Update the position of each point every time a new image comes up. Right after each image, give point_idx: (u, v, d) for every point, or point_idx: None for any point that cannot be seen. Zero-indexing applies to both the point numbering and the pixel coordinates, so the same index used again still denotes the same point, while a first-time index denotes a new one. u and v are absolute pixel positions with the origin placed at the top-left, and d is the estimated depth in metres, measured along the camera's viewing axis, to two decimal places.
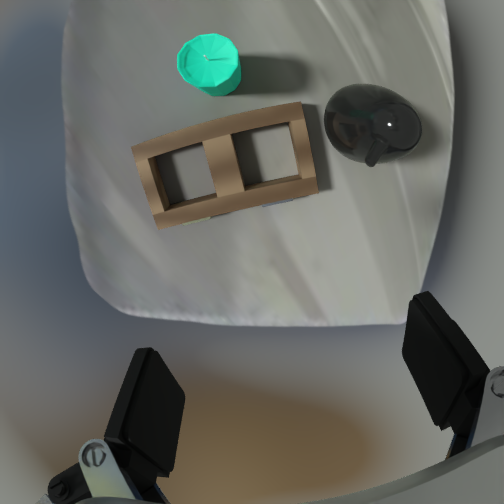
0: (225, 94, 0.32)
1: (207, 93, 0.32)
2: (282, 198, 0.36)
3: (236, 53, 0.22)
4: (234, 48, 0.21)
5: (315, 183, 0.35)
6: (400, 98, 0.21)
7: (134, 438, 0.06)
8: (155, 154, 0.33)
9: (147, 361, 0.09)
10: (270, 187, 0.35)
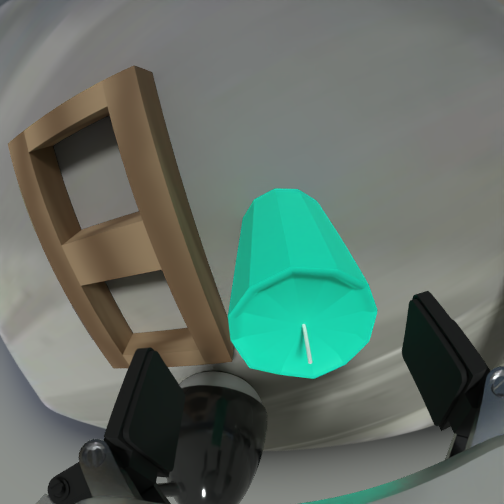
0: None
1: (247, 213, 0.19)
2: (89, 331, 0.21)
3: (307, 376, 0.12)
4: (320, 373, 0.12)
5: (122, 366, 0.23)
6: None
7: (134, 438, 0.06)
8: (114, 123, 0.14)
9: (147, 361, 0.09)
10: (97, 319, 0.20)
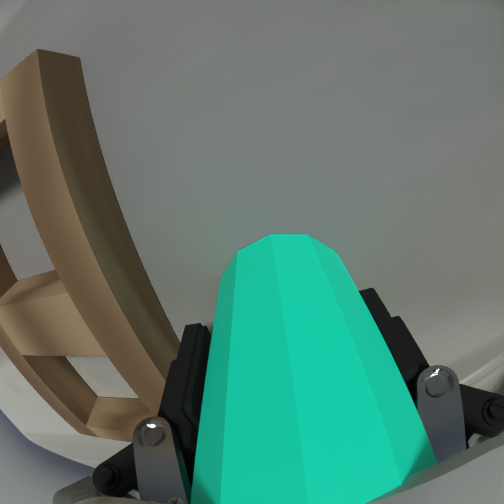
0: None
1: (226, 275, 0.12)
2: (45, 399, 0.14)
3: None
4: None
5: (89, 434, 0.16)
6: None
7: (194, 411, 0.07)
8: (13, 144, 0.07)
9: (199, 336, 0.09)
10: (49, 390, 0.13)
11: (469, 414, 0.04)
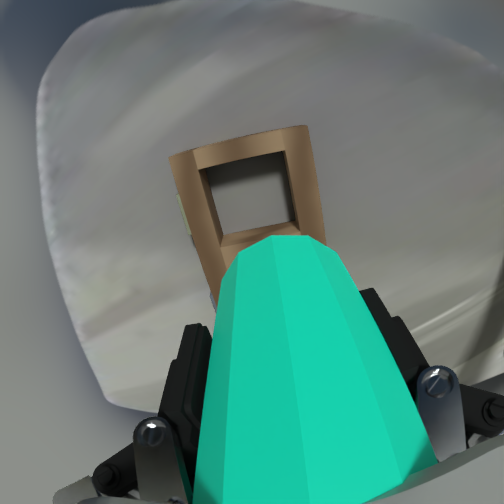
0: None
1: (227, 276, 0.12)
2: None
3: None
4: None
5: None
6: None
7: (194, 411, 0.07)
8: (289, 163, 0.23)
9: (199, 336, 0.09)
10: None
11: (469, 414, 0.04)
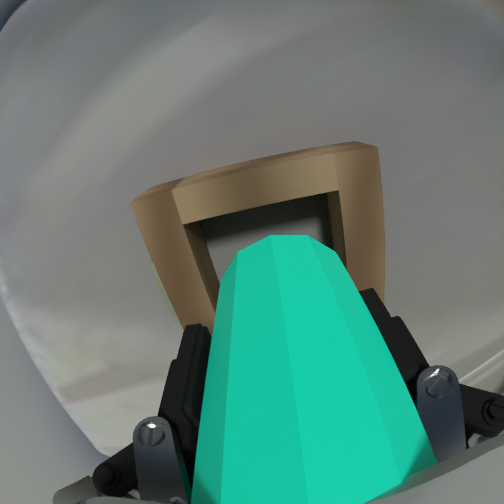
0: None
1: (227, 276, 0.12)
2: None
3: None
4: None
5: None
6: None
7: (194, 411, 0.07)
8: (345, 213, 0.13)
9: (199, 336, 0.09)
10: None
11: (469, 414, 0.04)
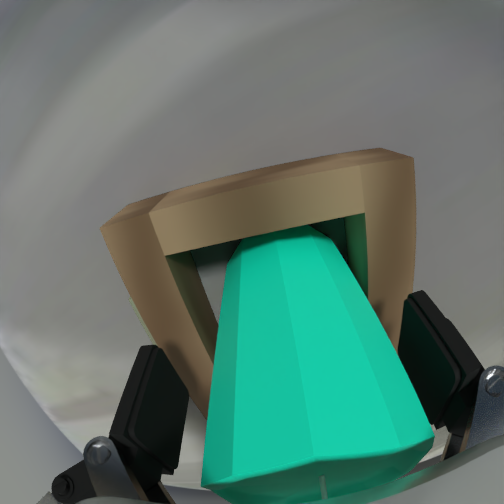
0: None
1: (232, 260, 0.13)
2: None
3: None
4: None
5: None
6: None
7: (139, 435, 0.06)
8: (370, 242, 0.10)
9: (152, 358, 0.09)
10: None
11: None
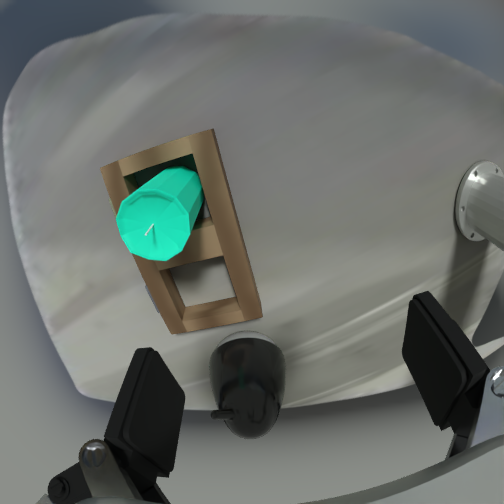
0: None
1: None
2: (158, 305, 0.32)
3: (162, 259, 0.22)
4: (168, 257, 0.21)
5: (180, 331, 0.34)
6: None
7: (134, 438, 0.06)
8: (197, 164, 0.26)
9: (147, 361, 0.09)
10: (167, 295, 0.32)
11: None
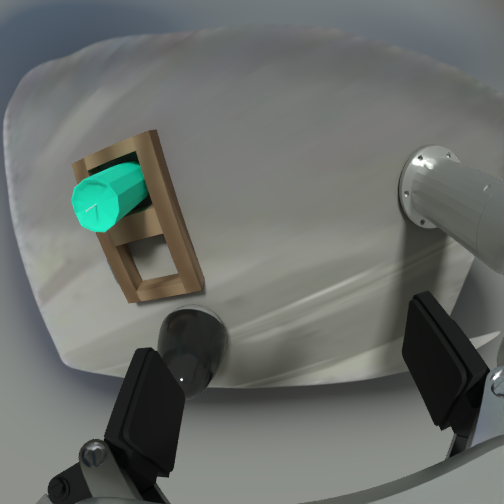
0: None
1: None
2: (116, 276, 0.37)
3: (102, 231, 0.26)
4: (106, 229, 0.26)
5: (135, 301, 0.39)
6: (205, 385, 0.33)
7: (134, 438, 0.06)
8: (139, 159, 0.30)
9: (147, 361, 0.09)
10: (123, 267, 0.37)
11: None
